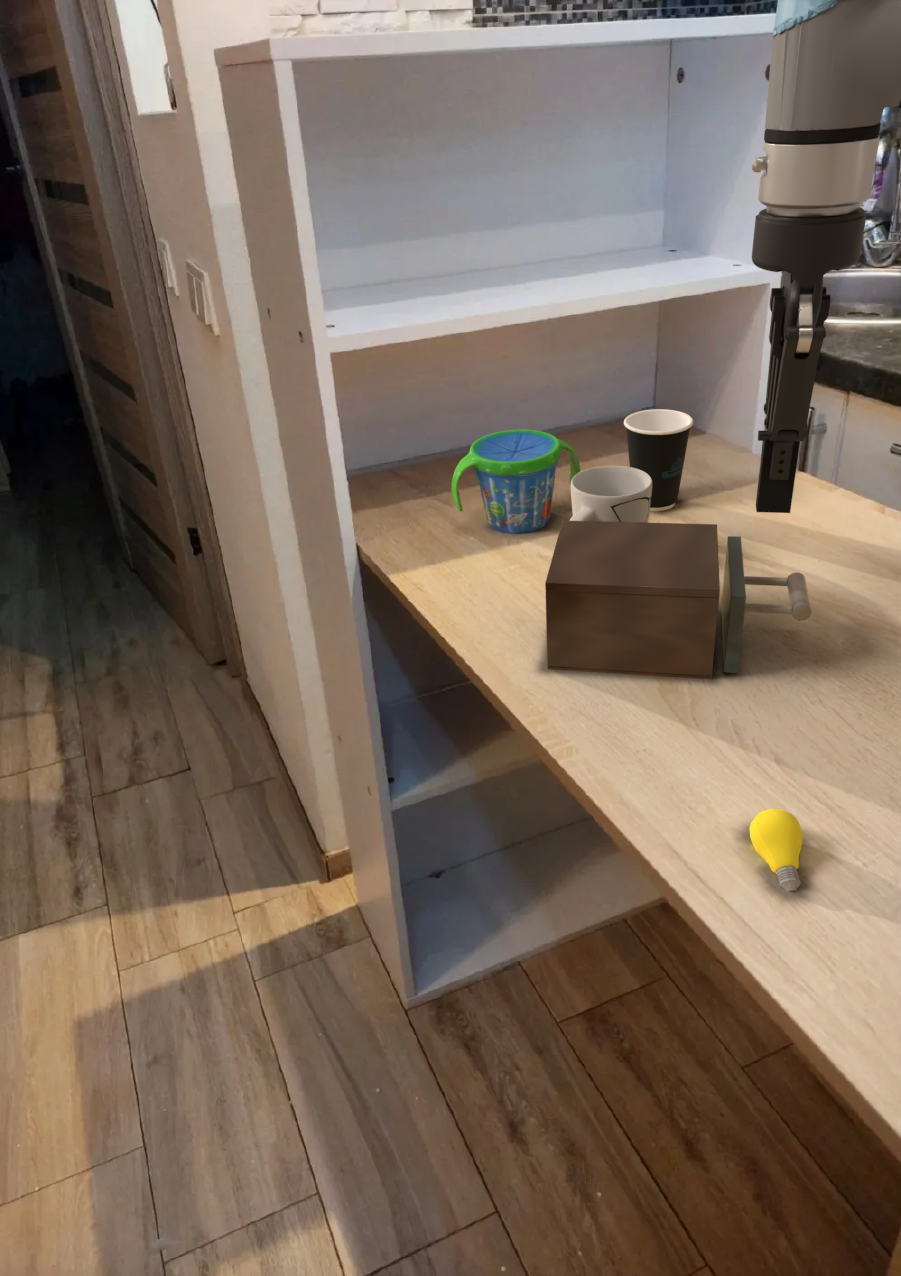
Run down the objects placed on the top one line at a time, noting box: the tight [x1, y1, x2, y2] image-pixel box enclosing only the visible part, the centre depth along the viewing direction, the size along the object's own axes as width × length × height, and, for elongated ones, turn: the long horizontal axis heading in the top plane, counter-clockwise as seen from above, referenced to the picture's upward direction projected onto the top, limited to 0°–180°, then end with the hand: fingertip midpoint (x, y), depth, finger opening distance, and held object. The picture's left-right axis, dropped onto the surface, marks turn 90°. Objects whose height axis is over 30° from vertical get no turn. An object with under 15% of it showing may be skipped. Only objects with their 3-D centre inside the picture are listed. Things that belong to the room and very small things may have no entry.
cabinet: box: [544, 520, 721, 680], centre depth 86 cm, size 15×13×10 cm
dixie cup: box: [623, 408, 694, 512], centre depth 111 cm, size 8×8×11 cm
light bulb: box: [748, 808, 804, 892], centre depth 63 cm, size 3×6×4 cm, turn 0°
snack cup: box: [451, 429, 582, 535], centre depth 110 cm, size 16×10×10 cm
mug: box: [568, 465, 652, 523], centre depth 99 cm, size 11×8×10 cm
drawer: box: [720, 535, 813, 674], centre depth 85 cm, size 19×11×8 cm, turn 77°
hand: (772, 508), depth 79 cm, fingers closed
